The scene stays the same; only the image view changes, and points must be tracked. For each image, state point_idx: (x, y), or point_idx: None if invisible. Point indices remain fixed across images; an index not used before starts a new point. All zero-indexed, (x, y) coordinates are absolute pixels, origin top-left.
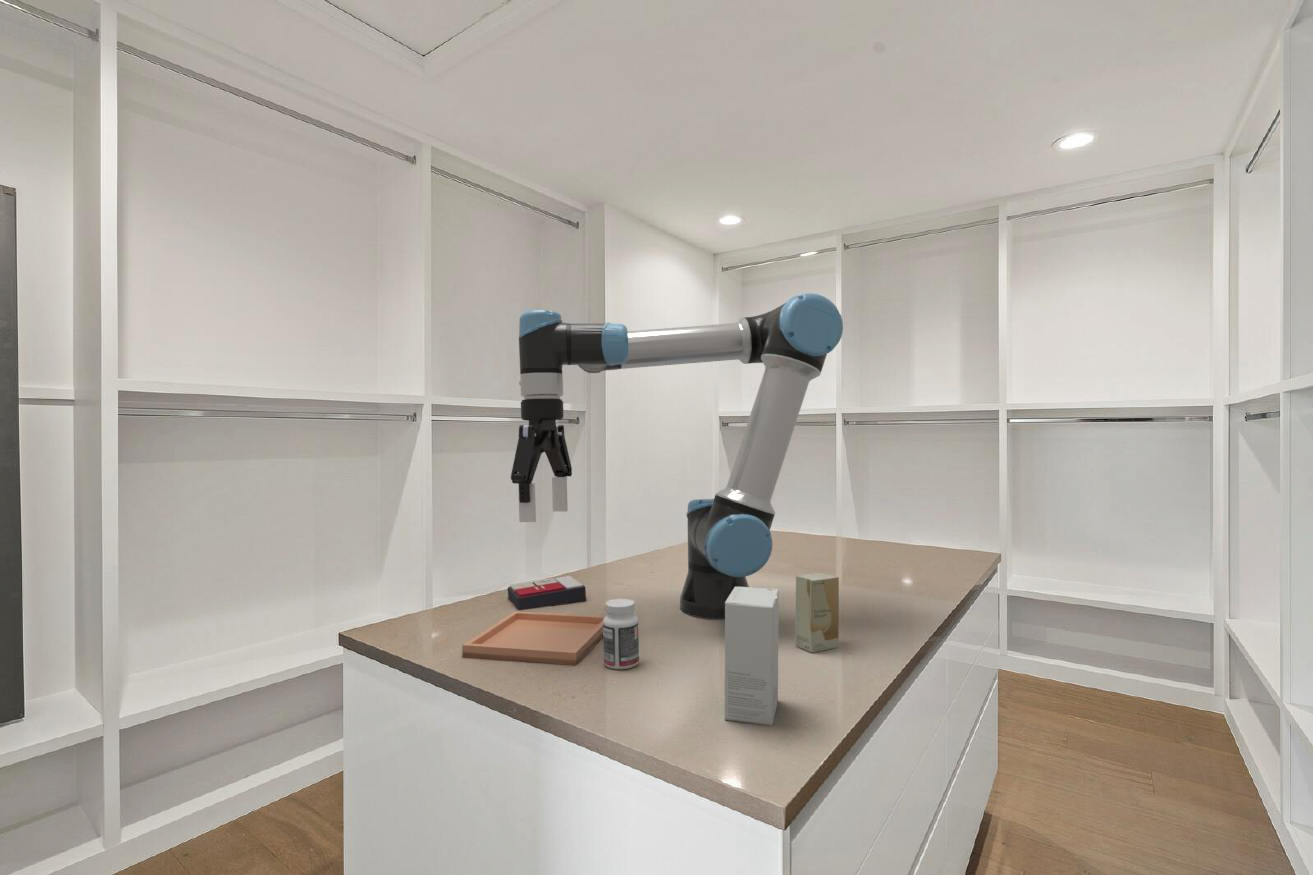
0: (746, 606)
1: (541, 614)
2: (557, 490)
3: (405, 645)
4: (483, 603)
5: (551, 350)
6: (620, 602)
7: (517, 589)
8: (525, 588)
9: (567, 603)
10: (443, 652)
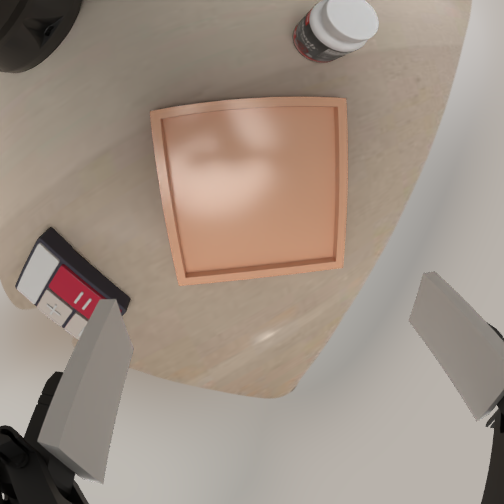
0: None
1: (177, 237)
2: (102, 408)
3: (308, 338)
4: None
5: None
6: (353, 14)
7: None
8: None
9: (72, 248)
10: (324, 290)
